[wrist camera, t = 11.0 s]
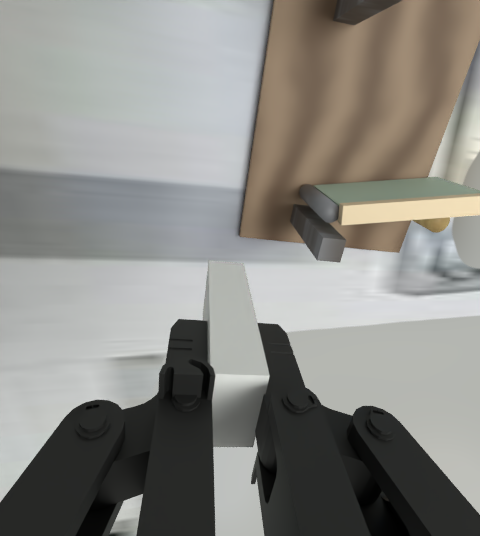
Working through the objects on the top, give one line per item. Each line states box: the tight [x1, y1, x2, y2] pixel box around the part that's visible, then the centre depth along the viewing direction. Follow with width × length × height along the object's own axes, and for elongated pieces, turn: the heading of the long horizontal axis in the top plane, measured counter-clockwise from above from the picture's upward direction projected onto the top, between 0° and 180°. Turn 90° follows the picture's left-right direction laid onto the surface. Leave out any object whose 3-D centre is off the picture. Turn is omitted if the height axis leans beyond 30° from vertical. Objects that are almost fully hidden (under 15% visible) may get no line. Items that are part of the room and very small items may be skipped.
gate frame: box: [239, 0, 480, 262], centre depth 34 cm, size 23×30×13 cm
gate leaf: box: [299, 177, 480, 225], centre depth 38 cm, size 2×18×10 cm, turn 93°
